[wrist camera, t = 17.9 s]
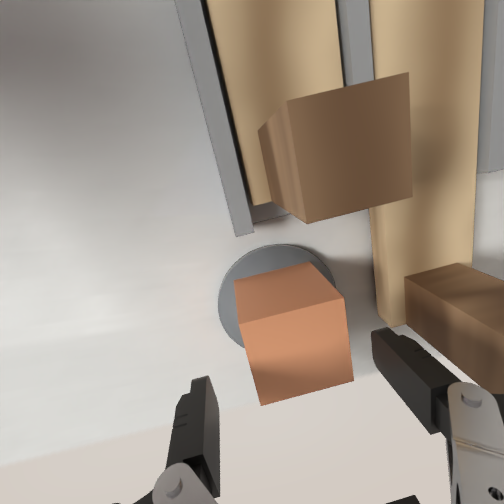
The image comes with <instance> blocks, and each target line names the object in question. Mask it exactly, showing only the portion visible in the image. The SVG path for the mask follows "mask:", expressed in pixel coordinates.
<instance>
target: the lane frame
mask: <svg viewBox="0 0 504 504" xmlns="http://www.w3.org/2000/svg"><path fill="white" fill-rule="evenodd" d="M175 4H176V8H177V11H178V15H179V19H180V23H181V27H182V31H183V35H184V38H185V42H186V46H187V50H188V54H189V58H190V62H191V65H192V69H193V73H194V77H195V81H196V85H197V89H198V92H199V96H200V100H201V104H202V108H203V112H204V116H205V119H206V123H207V127H208V131H209V135H210V139H211V143H212V146H213V150H214V154H215V158H216V162H217V166H218V170H219V173H220V177H221V181H222V185H223V189H224V193H225V197H226V200H227V204H228V208H229V212H230V216H231V220H232V224H233V227H234V231H235V235H236V237H238V236H242V235H246V234H250V233H254V229H253V224H252V223H256V222H260V221H264V220H268V219H272V218H276V217H280V216H284V215H288V214H291V213H289V212H287V211H286V210H284V209H283V208H281V207H280V206H278V205H277V204H275V203H274V202H272V201H271V202H267V203H263V204H259V205H255V206H253V205H252V204H251V203H250V199H249V195H248V190H247V186H246V182H245V177H244V173H243V169H242V164H241V160H240V156H239V151H238V147H237V143H236V138H235V134H234V130H233V125H232V121H231V116H230V112H229V108H228V103H227V99H226V95H225V90H224V86H223V82H222V77H221V73H220V69H219V64H218V60H217V56H216V51H215V47H214V43H213V38H212V34H211V30H210V25H209V21H208V17H207V12H206V8H205V4H204V0H175ZM335 8H336V18H337V28H338V38H339V48H340V58H341V68H342V77H343V87H346V86H351V85H355V84H359V83H363V82H367V81H372V80H374V74H373V59H372V45H371V30H370V15H369V0H335ZM502 169H504V0H484V18H483V40H482V61H481V83H480V105H479V126H478V148H477V169H476V173H490V172H494V171H498V170H502Z"/></svg>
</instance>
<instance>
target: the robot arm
mask: <svg viewBox="0 0 504 504" xmlns="http://www.w3.org/2000/svg"><path fill="white" fill-rule="evenodd" d="M371 341H372V353H373V359H374V362H375V365H376V367H377V368H378V370H379V371H380V372H381V374H382V375H383V376H384V377H385V379H386V380H387V381H388V382H389V384H390V385H391V386H392V387H393V389H394V390H395V391H396V392H397V394H398V395H399V396H400V397H401V398H402V400H403V401H404V402H405V403H406V405H407V406H408V407H409V408H410V410H411V411H412V412H413V413H414V415H415V416H416V417H417V418H418V420H419V421H420V422H421V423H422V425H423V426H424V427H425V428H426V430H427V431H428V432H429V433H430V435H431V434H435V433H438V432H441V433H442V434H443V435H444V436H445V438H446V450H447V460H448V470H449V481H450V491H451V504H504V394H491V393H489V392H488V391H487V390H485V389H483V388H482V387H479V386H477V385H475V384H472V383H467V382H462V381H461V380H459V379H458V378H457V377H456V376H455V375H454V374H453V373H451V372H450V371H449V370H448V369H447V368H446V367H445V366H443V365H442V364H441V363H440V362H439V361H438V360H437V359H435V358H434V357H432V356H431V354H430V353H428V352H427V351H426V350H424V348H423V347H422V346H420V345H419V344H418V343H417V342H416V341H415V340H413V339H411V338H408V337H406V336H404V335H400V336H398V335H396V334H395V333H394V332H393V331H392V330H391V329H390V328H388V327H385V328H382V329H378V330H374V331H372V332H371ZM174 418H175V419H174V423H173V429H172V434H171V441H170V446H169V452H168V458H167V464H166V468H165V471H164V472H163V473H162V474H161V475H160V476H159V478H158V479H157V481H156V483H155V486H154V489H153V490H152V491H151V492H150V493H148V494H147V495H146V496H144V497H143V498H141V499H140V500H138V501H137V502H135V503H134V504H218V503H217V502H216V501H215V499H214V498H217V497H220V436H219V435H220V433H219V431H220V430H219V407H218V402H217V398H216V395H215V392H214V389H213V387H212V384H211V381H210V378H209V376H204V377H200V378H197V379H193V380H192V382H191V390H190V393H188V394H184V395H182V397H181V399H180V400H179V402H178V404H177V406H176V411H175V417H174ZM114 504H119V503H114ZM386 504H420V503H419V501H418V499H417V498H416V496H415V495H412V496H409V497H406V498H403V499H399V500H396V501H393V502H390V503H386Z"/></svg>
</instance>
